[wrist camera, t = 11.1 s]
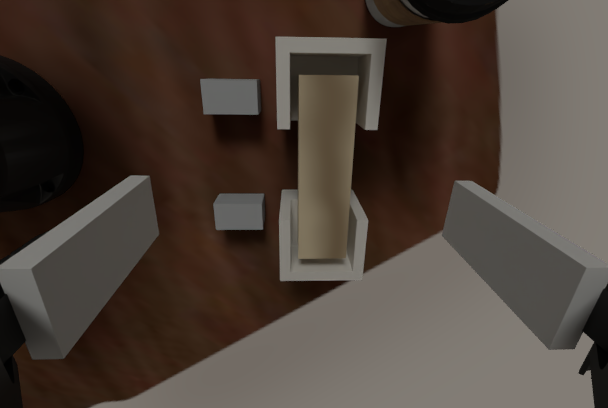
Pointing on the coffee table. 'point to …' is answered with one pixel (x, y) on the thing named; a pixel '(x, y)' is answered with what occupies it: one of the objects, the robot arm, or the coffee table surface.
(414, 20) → the coffee cup
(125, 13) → the coffee table surface
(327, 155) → the rail
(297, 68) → the bracket pair
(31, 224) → the coffee table surface
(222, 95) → the rest blocks
